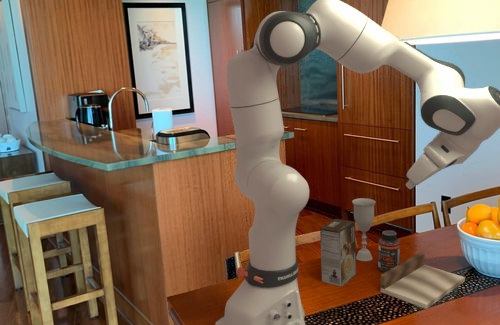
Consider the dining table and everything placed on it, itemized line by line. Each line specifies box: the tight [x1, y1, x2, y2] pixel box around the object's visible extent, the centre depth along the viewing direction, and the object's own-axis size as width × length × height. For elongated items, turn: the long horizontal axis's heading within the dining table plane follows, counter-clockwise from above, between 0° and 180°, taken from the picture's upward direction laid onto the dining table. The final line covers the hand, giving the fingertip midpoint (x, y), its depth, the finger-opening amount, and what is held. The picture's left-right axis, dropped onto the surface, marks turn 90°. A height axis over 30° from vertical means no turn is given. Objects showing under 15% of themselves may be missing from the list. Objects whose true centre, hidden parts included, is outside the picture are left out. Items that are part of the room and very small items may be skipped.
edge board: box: [380, 251, 466, 310], centre depth 129 cm, size 20×13×5 cm, turn 131°
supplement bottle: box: [377, 230, 401, 273], centre depth 139 cm, size 6×6×11 cm
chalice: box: [351, 197, 377, 262], centre depth 147 cm, size 7×7×18 cm
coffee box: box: [319, 218, 357, 287], centre depth 135 cm, size 9×6×16 cm
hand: (418, 180), depth 125 cm, fingers open, 8 cm apart
